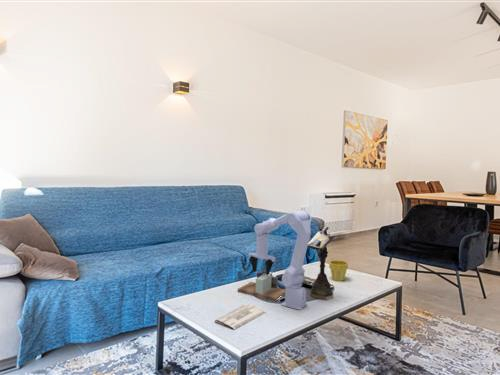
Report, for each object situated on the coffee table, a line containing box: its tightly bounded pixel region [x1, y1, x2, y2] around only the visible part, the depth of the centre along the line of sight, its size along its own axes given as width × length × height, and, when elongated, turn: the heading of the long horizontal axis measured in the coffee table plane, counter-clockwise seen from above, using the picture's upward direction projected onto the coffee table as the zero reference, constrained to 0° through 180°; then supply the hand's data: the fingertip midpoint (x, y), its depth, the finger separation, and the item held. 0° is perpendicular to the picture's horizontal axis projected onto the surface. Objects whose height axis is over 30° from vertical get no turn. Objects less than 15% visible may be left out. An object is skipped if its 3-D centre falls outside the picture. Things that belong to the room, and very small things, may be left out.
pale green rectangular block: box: [255, 273, 273, 294], centre depth 180 cm, size 4×9×7 cm, turn 148°
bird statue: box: [307, 226, 336, 301], centre depth 176 cm, size 17×13×35 cm
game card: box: [256, 270, 273, 278], centre depth 195 cm, size 7×5×9 cm
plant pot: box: [328, 259, 349, 282], centre depth 204 cm, size 10×10×10 cm
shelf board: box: [237, 275, 285, 302], centre depth 182 cm, size 22×13×7 cm, turn 58°
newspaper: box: [214, 303, 267, 331], centre depth 153 cm, size 23×12×2 cm, turn 142°
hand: (261, 272), depth 183 cm, fingers open, 7 cm apart
